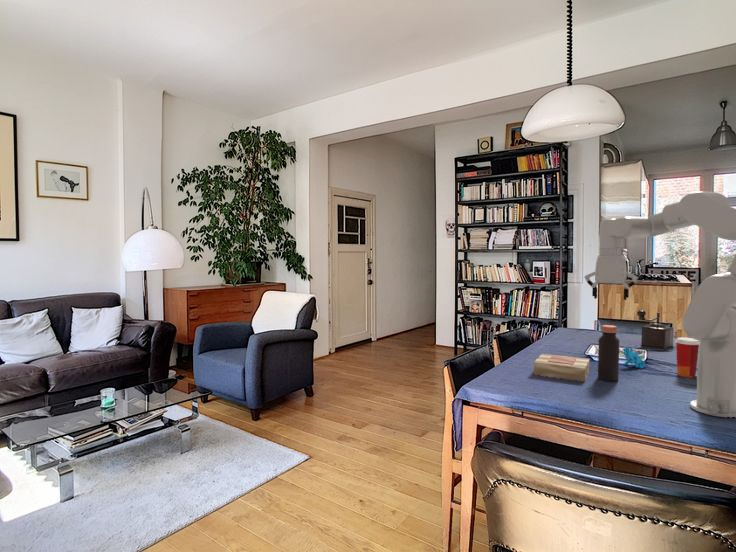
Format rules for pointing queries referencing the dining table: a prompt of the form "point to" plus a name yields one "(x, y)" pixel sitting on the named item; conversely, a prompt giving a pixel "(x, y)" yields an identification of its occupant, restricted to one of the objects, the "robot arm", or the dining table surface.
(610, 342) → the vinegar
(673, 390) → the dining table surface
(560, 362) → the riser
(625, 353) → the blue lumpy piece
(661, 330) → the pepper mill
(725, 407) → the robot arm
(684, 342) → the paper cup
